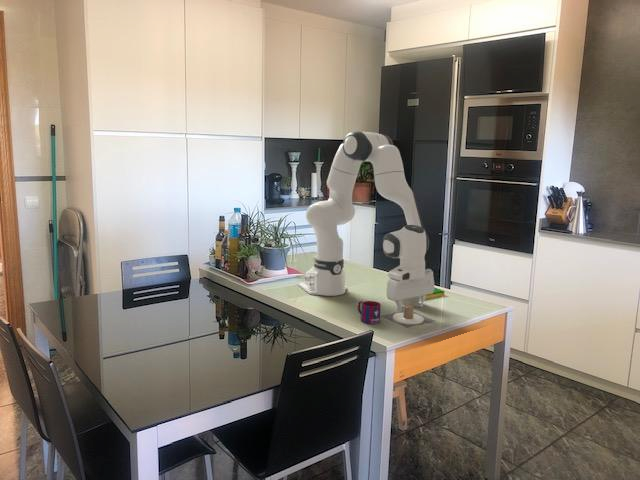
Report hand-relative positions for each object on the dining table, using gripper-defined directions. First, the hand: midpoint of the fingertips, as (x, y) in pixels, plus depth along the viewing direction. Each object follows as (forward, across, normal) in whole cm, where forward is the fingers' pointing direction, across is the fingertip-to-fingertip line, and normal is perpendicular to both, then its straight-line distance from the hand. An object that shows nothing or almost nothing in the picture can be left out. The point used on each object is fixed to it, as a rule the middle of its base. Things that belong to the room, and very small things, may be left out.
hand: (410, 308), depth 186 cm
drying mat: (+4, -1, -1) cm, 5 cm away
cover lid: (+4, 0, 0) cm, 4 cm away
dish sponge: (+5, -29, -20) cm, 36 cm away
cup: (+4, +13, -8) cm, 16 cm away
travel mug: (+4, -14, -14) cm, 20 cm away
